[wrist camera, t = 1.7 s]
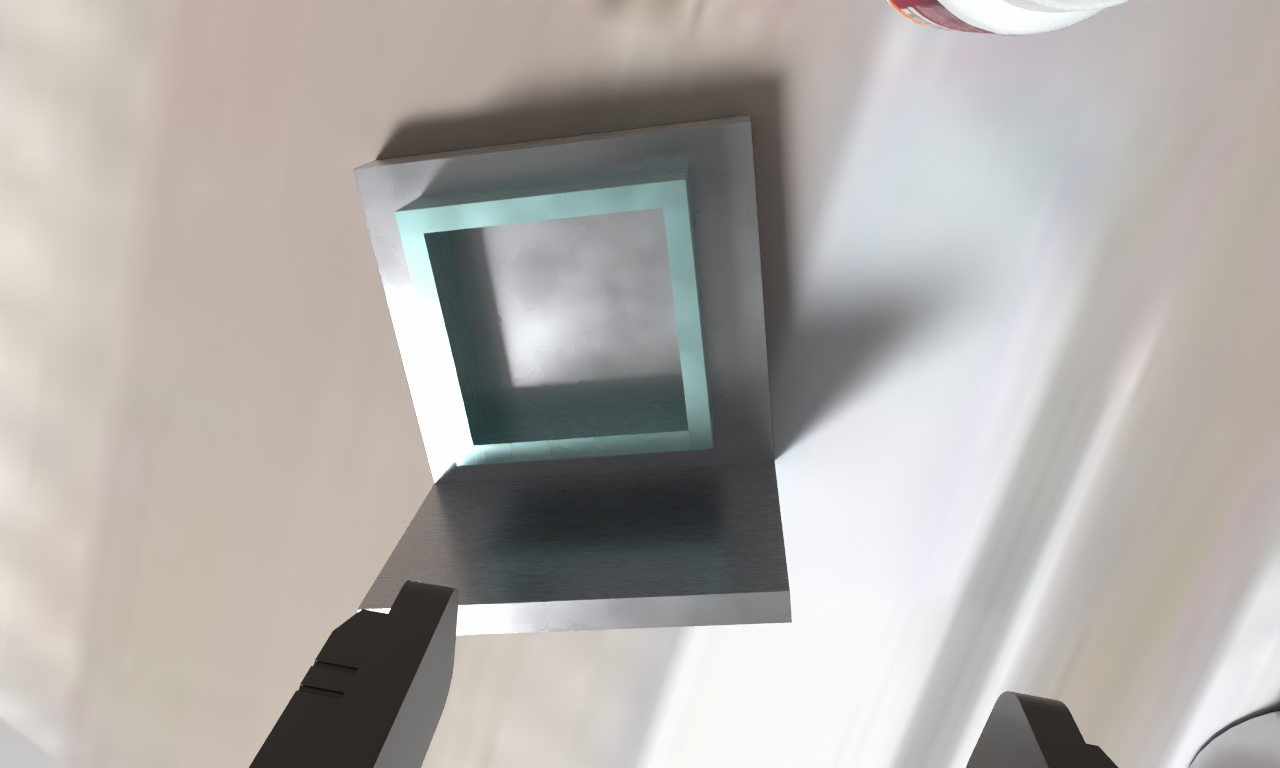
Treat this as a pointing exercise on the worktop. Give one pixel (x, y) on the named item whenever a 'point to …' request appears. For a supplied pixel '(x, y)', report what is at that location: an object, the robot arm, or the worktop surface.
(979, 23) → the pill bottle
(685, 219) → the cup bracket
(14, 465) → the worktop surface
